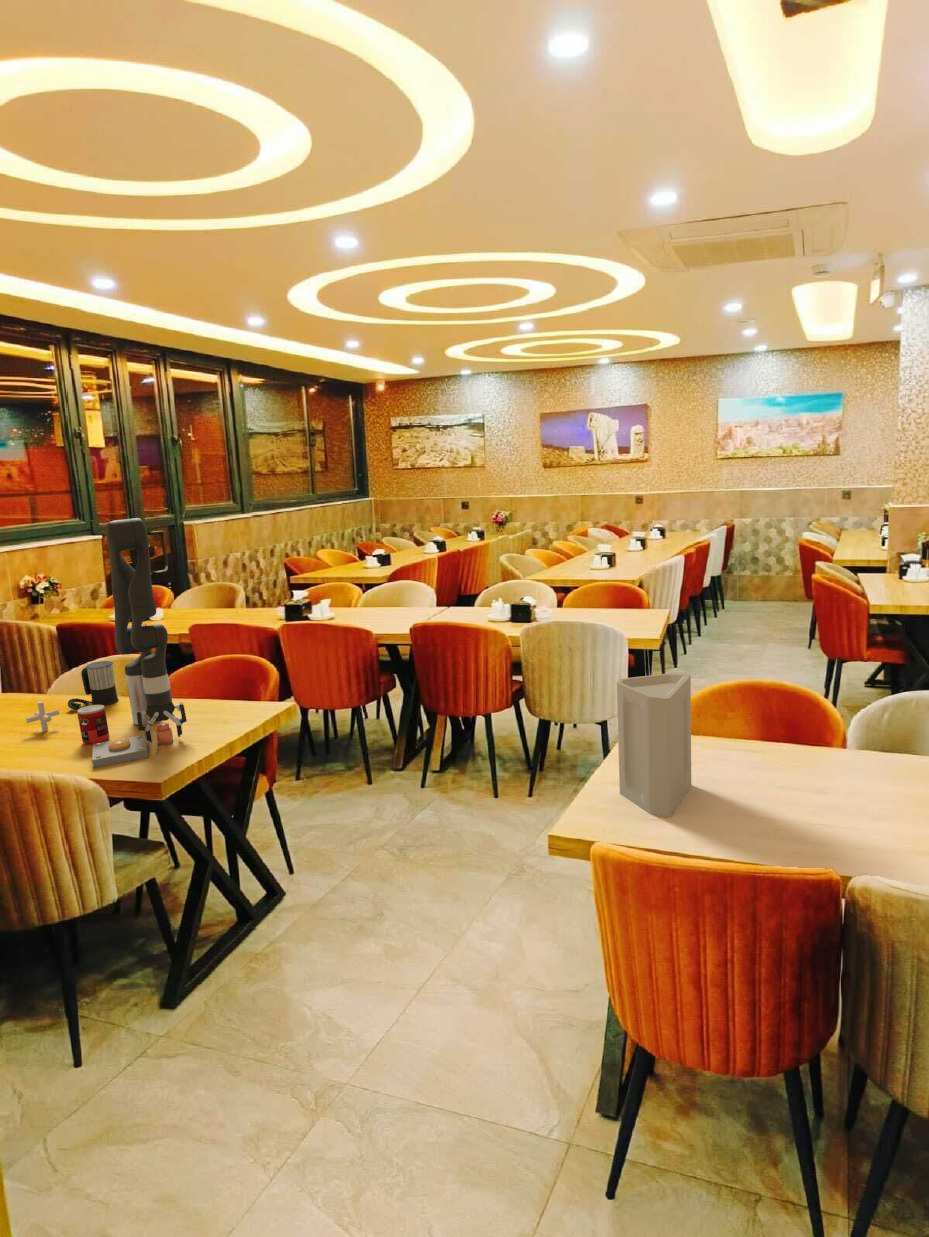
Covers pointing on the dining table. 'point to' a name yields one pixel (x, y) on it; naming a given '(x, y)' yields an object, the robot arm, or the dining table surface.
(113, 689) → the milk frother
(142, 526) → the robot arm
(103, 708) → the canned food
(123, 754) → the square plate with knob
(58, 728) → the dining table surface
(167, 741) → the orange rounded knob
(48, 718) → the pipe connector
